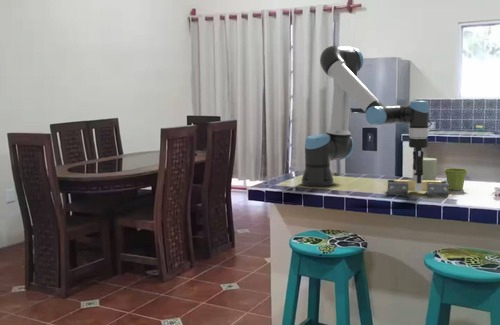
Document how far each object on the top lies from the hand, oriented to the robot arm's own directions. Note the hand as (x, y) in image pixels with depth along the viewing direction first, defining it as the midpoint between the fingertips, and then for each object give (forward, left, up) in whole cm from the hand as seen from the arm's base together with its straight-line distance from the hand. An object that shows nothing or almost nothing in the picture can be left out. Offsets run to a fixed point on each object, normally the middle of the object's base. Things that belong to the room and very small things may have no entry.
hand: (417, 187), depth 216 cm
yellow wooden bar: (0, 0, -1) cm, 1 cm away
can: (+6, +27, -3) cm, 28 cm away
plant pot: (+17, +13, -3) cm, 22 cm away
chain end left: (-8, 0, -2) cm, 8 cm away
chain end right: (+8, 0, -2) cm, 8 cm away
